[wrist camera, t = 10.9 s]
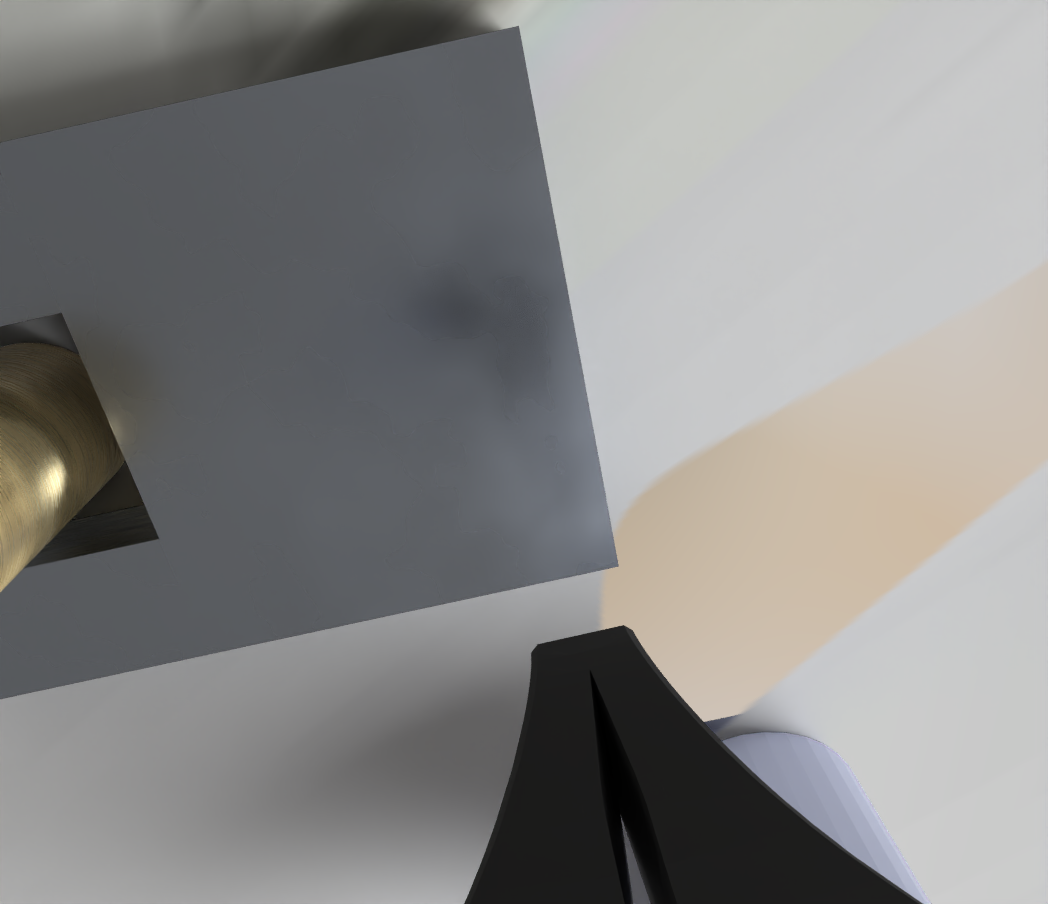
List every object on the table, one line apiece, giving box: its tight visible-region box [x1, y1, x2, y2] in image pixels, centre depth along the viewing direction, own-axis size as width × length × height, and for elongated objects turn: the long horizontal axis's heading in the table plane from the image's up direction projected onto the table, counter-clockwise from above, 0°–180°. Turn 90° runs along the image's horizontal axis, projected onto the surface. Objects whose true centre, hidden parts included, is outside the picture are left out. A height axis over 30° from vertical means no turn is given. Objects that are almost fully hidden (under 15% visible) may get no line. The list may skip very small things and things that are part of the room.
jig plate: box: [0, 26, 618, 699], centre depth 19 cm, size 12×18×2 cm, turn 102°
